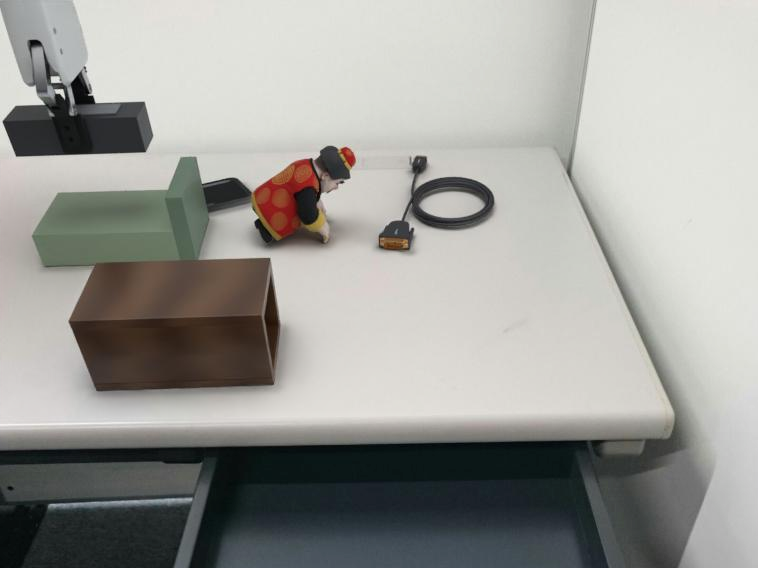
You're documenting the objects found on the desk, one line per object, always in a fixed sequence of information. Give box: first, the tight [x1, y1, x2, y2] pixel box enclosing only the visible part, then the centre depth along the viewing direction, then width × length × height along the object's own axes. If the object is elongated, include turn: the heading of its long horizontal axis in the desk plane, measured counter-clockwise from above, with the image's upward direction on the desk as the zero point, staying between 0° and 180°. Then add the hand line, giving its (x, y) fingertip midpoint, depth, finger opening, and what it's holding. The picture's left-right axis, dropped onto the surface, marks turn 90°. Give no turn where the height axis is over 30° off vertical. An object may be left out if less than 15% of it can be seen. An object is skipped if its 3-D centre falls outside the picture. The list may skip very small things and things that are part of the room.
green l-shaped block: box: [31, 156, 210, 267], centre depth 92 cm, size 19×12×8 cm, turn 93°
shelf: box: [68, 257, 282, 392], centre depth 74 cm, size 18×11×8 cm, turn 93°
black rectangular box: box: [2, 101, 154, 158], centre depth 84 cm, size 15×5×4 cm, turn 93°
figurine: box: [251, 145, 357, 245], centre depth 93 cm, size 10×10×15 cm
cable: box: [378, 154, 496, 250], centre depth 100 cm, size 14×28×2 cm, turn 169°
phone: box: [202, 176, 253, 214], centre depth 102 cm, size 8×1×15 cm
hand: (84, 141), depth 85 cm, fingers closed on black rectangular box, 5 cm apart
